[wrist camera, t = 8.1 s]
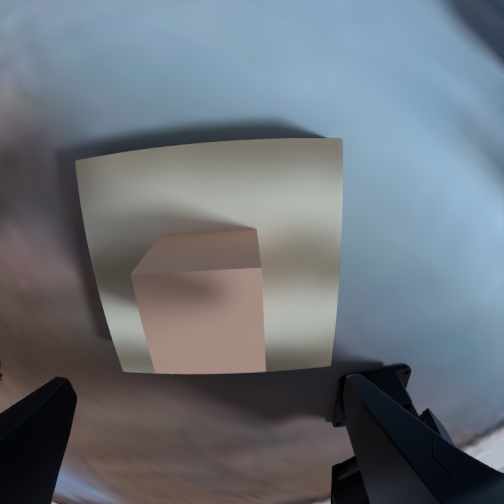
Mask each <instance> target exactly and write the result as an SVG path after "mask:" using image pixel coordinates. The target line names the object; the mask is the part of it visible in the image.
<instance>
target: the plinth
mask: <svg viewBox="0 0 504 504" xmlns="http://www.w3.org/2000/svg"><path fill="white" fill-rule="evenodd" d="M75 166H76V175H77V183H78V190H79V197H80V204H81V210H82V216H83V222H84V227H85V233H86V238H87V243H88V248H89V253H90V257H91V262H92V266H93V271H94V275H95V279H96V283H97V287H98V291H99V295H100V299H101V302H102V306H103V310H104V313H105V317H106V320H107V323H108V327H109V330H110V333H111V337H112V340H113V343H114V346H115V349H116V352H117V355H118V358H119V361H120V364H121V367H122V369H123V372H134V373H155V370H154V366H153V363H152V359H151V356H150V352H149V349H148V345H147V341H146V338H145V334H144V330H143V326H142V322H141V318H140V314H139V310H138V305H137V301H136V297H135V292H134V288H133V283H132V278H131V273H132V272H133V270H134V269H135V268H136V266H137V265H138V264H139V262H140V261H141V260H142V258H143V257H144V256H145V255H146V253H147V252H148V251H149V249H150V248H151V247H152V246H153V244H154V243H155V242H156V241H157V239H158V238H159V237H160V235H166V234H181V233H196V232H212V231H229V230H246V229H257V235H258V243H259V251H260V258H261V266H262V287H263V311H264V337H265V364H266V372H272V371H286V370H298V369H309V368H319V367H328V366H331V361H332V352H333V343H334V334H335V324H336V313H337V301H338V288H339V274H340V257H341V236H342V202H343V144H342V139H339V138H272V139H247V140H230V141H216V142H203V143H192V144H182V145H173V146H164V147H156V148H148V149H140V150H133V151H127V152H120V153H114V154H108V155H102V156H96V157H91V158H86V159H81V160H76V161H75ZM250 373H255V372H250ZM157 374H160V373H157ZM223 374H231V373H223Z"/></svg>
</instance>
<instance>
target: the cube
mask: <svg viewBox="0 0 504 504" xmlns="http://www.w3.org/2000/svg"><path fill="white" fill-rule="evenodd" d="M131 278H132V283H133V288H134V292H135V297H136V301H137V305H138V310H139V314H140V318H141V322H142V326H143V330H144V334H145V338H146V341H147V345H148V349H149V352H150V356H151V359H152V363H153V366H154V370H155V373H160V374H223V373H250V372H266V364H265V337H264V311H263V287H262V266H261V258H260V251H259V243H258V235H257V229H246V230H229V231H212V232H196V233H181V234H166V235H160V237H159V238H158V239H157V241H156V242H155V243H154V244H153V246H152V247H151V248H150V249H149V251H148V252H147V253H146V255H145V256H144V257H143V258H142V260H141V261H140V262H139V264H138V265H137V266H136V268H135V269H134V270H133V272H132V273H131Z"/></svg>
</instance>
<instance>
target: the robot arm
mask: <svg viewBox="0 0 504 504" xmlns="http://www.w3.org/2000/svg"><path fill="white" fill-rule="evenodd" d="M410 374H411V368H410V367H409V366H408V365H406V366H401V367H396V368H390V369H384V370H379V371H373V372H366V373H360V374H353V375H346V376H343V377H341V379H340V380H339V386H338V392H337V398H336V403H335V409H334V414H333V420H332V424H333V427H343V426H346V428H347V432H348V435H349V438H350V442H351V445H352V448H353V452H354V455H355V456H353V457H351V458H350V459H348V460H346V461H344V462H342V463H340V464H339V463H338V464H336V465H334V466H332V484H331V504H504V473H502V472H499V471H497V470H495V469H493V468H491V467H489V466H488V465H486V464H484V463H482V462H480V461H479V460H477V459H475V458H473V457H471V456H470V455H468V454H466V453H465V452H463V451H461V450H460V449H458V448H456V447H455V445H454V443H453V441H452V440H451V438H450V436H449V435H448V433H447V431H446V429H445V428H444V426H443V425H442V424H441V423H440V422H439V420H438V419H437V418H436V417H435V415H434V414H433V413H432V412H431V411H430V409H429V408H428V409H426V410H425V411H423V412H422V414H421V415H420V416H419V415H418V413H417V411H416V409H415V408H414V406H413V404H412V400H411V398H410V396H409V394H408V392H407V390H406V387H407V384H408V380H409V377H410ZM76 403H77V396H76V393H75V391H74V389H73V387H72V385H71V383H70V381H69V379H68V378H66V377H55V378H54V379H52V380H51V381H49V382H48V383H46V384H45V385H43V386H42V387H40V388H39V389H37V390H36V391H34V392H33V393H31V394H29V395H28V396H26V397H25V398H23V399H22V400H20V401H19V402H17V403H16V404H14V405H13V406H11V407H10V408H8V409H7V410H5V411H4V412H2V413H0V504H51V502H52V498H53V493H54V489H55V486H56V482H57V478H58V474H59V471H60V467H61V463H62V460H63V456H64V453H65V450H66V446H67V443H68V440H69V436H70V432H71V427H72V422H73V417H74V412H75V408H76Z"/></svg>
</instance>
